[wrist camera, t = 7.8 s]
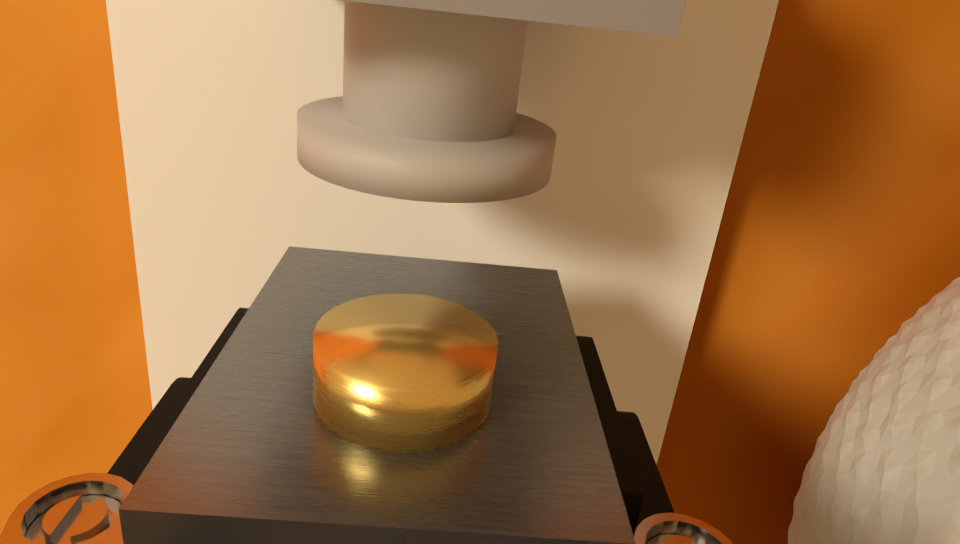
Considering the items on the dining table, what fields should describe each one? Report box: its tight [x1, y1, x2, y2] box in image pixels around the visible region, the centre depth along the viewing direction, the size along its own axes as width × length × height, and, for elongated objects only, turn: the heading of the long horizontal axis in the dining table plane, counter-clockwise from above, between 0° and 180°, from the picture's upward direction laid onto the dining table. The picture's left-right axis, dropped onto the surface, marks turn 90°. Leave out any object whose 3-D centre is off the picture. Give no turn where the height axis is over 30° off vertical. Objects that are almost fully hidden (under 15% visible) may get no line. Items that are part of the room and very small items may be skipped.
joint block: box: [118, 246, 636, 544], centre depth 10 cm, size 7×4×6 cm
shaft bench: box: [106, 0, 779, 465], centre depth 12 cm, size 12×20×7 cm, turn 174°
